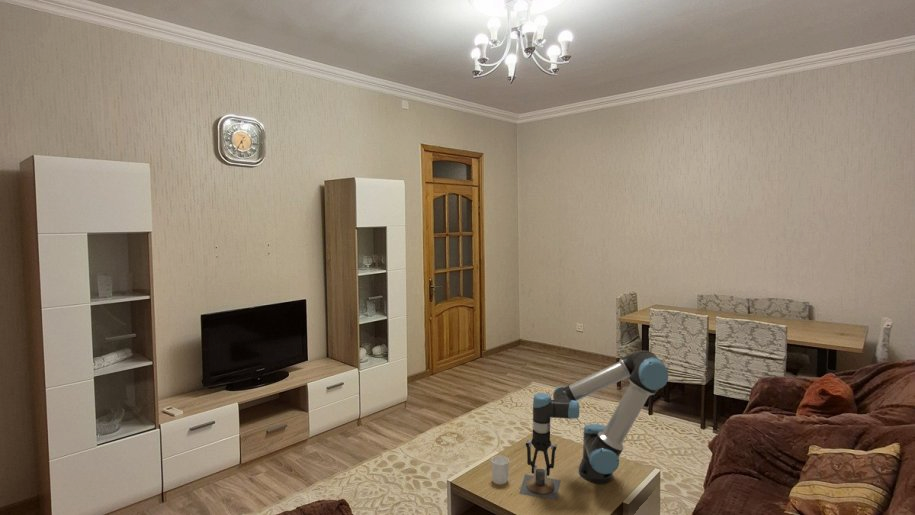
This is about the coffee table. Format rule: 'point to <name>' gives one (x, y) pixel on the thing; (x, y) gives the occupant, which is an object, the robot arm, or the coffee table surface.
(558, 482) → the mat
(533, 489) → the lid
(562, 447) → the coffee table surface
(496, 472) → the white cup
